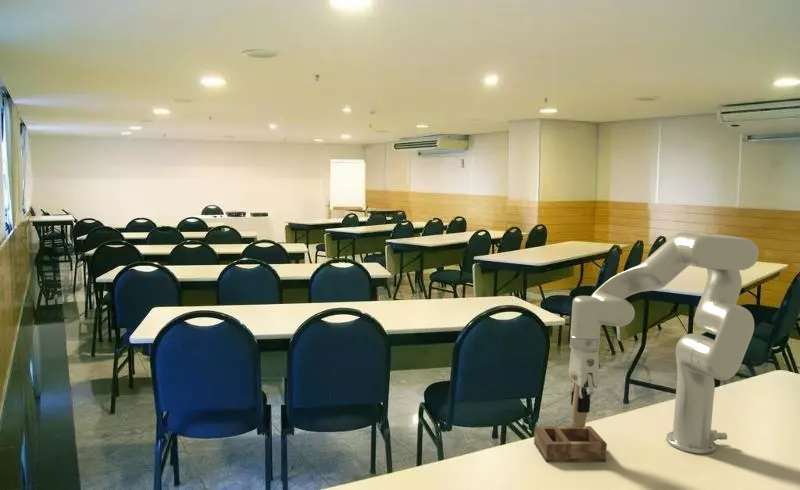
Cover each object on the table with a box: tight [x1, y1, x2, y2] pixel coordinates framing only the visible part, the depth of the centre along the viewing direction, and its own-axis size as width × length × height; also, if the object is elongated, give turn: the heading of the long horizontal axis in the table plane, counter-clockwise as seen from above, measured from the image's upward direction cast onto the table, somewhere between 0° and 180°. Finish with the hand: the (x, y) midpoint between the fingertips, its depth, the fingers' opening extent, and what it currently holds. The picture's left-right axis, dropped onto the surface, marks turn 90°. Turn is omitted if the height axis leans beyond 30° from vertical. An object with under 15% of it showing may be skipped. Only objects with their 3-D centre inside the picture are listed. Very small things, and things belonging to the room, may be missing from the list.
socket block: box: [533, 425, 608, 463], centre depth 160 cm, size 16×11×5 cm
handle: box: [569, 371, 588, 429], centre depth 159 cm, size 5×6×15 cm
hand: (579, 407), depth 159 cm, fingers closed on handle, 3 cm apart
